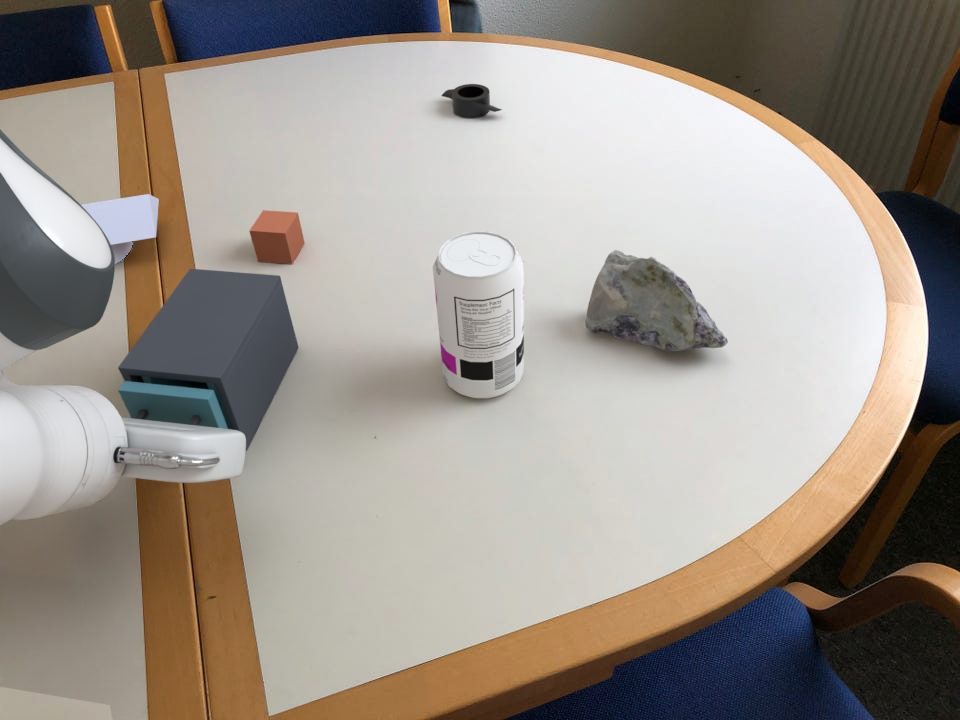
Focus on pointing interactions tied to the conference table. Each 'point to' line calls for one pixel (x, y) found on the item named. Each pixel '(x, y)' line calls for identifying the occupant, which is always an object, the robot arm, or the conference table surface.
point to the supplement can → (480, 313)
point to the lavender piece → (125, 221)
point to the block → (277, 237)
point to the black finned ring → (470, 100)
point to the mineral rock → (649, 306)
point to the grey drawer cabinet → (221, 341)
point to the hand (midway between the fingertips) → (163, 436)
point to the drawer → (174, 402)
